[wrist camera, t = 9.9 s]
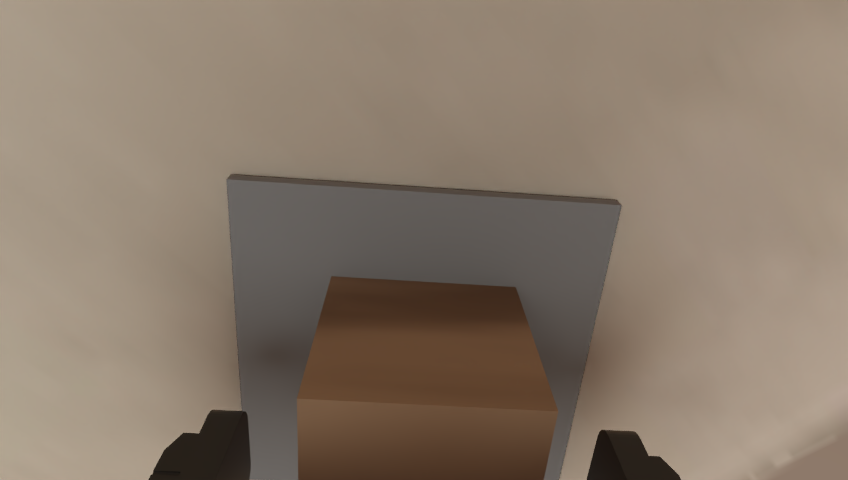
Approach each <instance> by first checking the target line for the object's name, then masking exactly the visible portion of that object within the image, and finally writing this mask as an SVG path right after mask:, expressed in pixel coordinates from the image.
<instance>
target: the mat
mask: <svg viewBox="0 0 848 480" xmlns="http://www.w3.org/2000/svg"><path fill="white" fill-rule="evenodd" d="M227 193H228V209H229V224H230V239H231V254H232V270H233V285H234V300H235V315H236V330H237V346H238V361H239V376H240V391H241V406H242V411H245V412H246V413H247V415H248V426H249V442H250V457H251V471H250V479H249V480H298V438H297V396H298V393H299V389H300V386H301V382H302V379H303V375H304V372H305V368H306V364H307V361H308V357H309V354H310V350H311V347H312V343H313V339H314V336H315V332H316V329H317V325H318V322H319V318H320V315H321V311H322V307H323V304H324V300H325V297H326V293H327V290H328V286H329V283H330V279H331V276H336V277H353V278H370V279H387V280H404V281H421V282H438V283H455V284H472V285H489V286H506V287H516V289H517V292H518V295H519V298H520V301H521V304H522V307H523V310H524V313H525V315H526V318H527V321H528V324H529V327H530V330H531V333H532V336H533V339H534V342H535V345H536V348H537V351H538V353H539V356H540V359H541V362H542V365H543V368H544V371H545V374H546V377H547V380H548V383H549V386H550V388H551V391H552V394H553V397H554V400H555V403H556V406H557V409H558V415H557V420H556V425H555V429H554V434H553V439H552V443H551V448H550V453H549V457H548V462H547V467H546V471H545V476H544V480H559V478H560V474H561V469H562V465H563V461H564V456H565V452H566V447H567V443H568V439H569V434H570V430H571V426H572V421H573V417H574V412H575V408H576V404H577V399H578V395H579V390H580V386H581V382H582V377H583V373H584V369H585V364H586V360H587V355H588V351H589V347H590V342H591V338H592V333H593V329H594V325H595V320H596V316H597V312H598V307H599V303H600V298H601V294H602V290H603V285H604V281H605V276H606V272H607V268H608V263H609V259H610V255H611V250H612V246H613V241H614V237H615V233H616V228H617V224H618V219H619V215H620V211H621V206H622V205H621V204H620V203H619V202H618V201H617V200H609V199H594V198H579V197H564V196H549V195H533V194H518V193H503V192H488V191H473V190H458V189H443V188H428V187H413V186H398V185H382V184H367V183H352V182H337V181H322V180H307V179H292V178H277V177H262V176H247V175H230V176H229V177H228V178H227Z"/></svg>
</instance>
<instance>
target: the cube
mask: <svg viewBox="0 0 848 480" xmlns="http://www.w3.org/2000/svg"><path fill="white" fill-rule="evenodd" d="M557 415H558V409H557V406H556V403H555V400H554V397H553V394H552V391H551V388H550V386H549V383H548V380H547V377H546V374H545V371H544V368H543V365H542V362H541V359H540V356H539V353H538V351H537V348H536V345H535V342H534V339H533V336H532V333H531V330H530V327H529V324H528V321H527V318H526V315H525V313H524V310H523V307H522V304H521V301H520V298H519V295H518V292H517V289H516V287H506V286H489V285H472V284H455V283H438V282H421V281H404V280H387V279H370V278H353V277H336V276H331V279H330V283H329V286H328V290H327V293H326V297H325V300H324V304H323V307H322V311H321V315H320V318H319V322H318V325H317V329H316V332H315V336H314V339H313V343H312V347H311V350H310V354H309V357H308V361H307V364H306V368H305V372H304V375H303V379H302V382H301V386H300V389H299V393H298V396H297V438H298V480H544V476H545V471H546V467H547V462H548V457H549V453H550V448H551V443H552V439H553V434H554V429H555V425H556V420H557Z"/></svg>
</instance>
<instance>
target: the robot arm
mask: <svg viewBox="0 0 848 480" xmlns="http://www.w3.org/2000/svg"><path fill="white" fill-rule="evenodd" d="M250 471H251V457H250V442H249V426H248V415H247V413H246V412H245V411H226V410H212V411H210V413H209V414H208V416H207V418H206V420H205V422H204V425H203V427H202V429H201V431H200V433H199V434H196V433H183V434H182V435H181V436H180V437H178V438H177V439H176V440H175V441H174V442H173V443H172V444H171V445H170V446H168V447H167V448H166V449H165V450H164V452H163V454H162V456H161V457H160V459H159V461H158V463H157V465H156V467H155V469H154V470H153V475H151V476H150V478H149V480H249V479H250ZM587 480H681V479H680V477H679V475H678V474H677V473H676V472H675V471H674V470H673V469H672V468H671V467H670V466H669V465H668V464H667V463H666V462H665V461H664V460H663V459H662V458H661V457H659V456H648V454H647V452H646V450H645V448H644V446H643V443H642V441H641V439H640V437H639V436H638V434H637V433H636V432H633V431H612V430H601V431H600V432H599V435H598V438H597V441H596V445H595V449H594V453H593V457H592V461H591V465H590V469H589V473H588V477H587Z"/></svg>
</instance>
